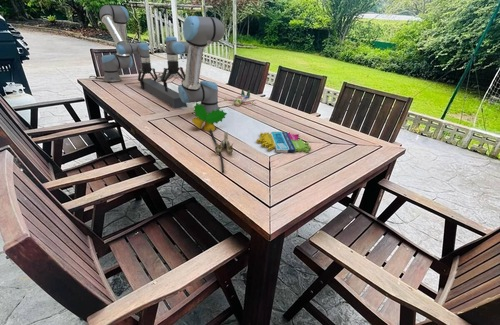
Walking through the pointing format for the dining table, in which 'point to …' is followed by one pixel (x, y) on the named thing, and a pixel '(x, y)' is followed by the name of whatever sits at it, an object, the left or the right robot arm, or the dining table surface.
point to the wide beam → (163, 93)
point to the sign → (283, 142)
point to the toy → (241, 99)
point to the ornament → (207, 117)
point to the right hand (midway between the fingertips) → (175, 90)
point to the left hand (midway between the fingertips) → (149, 88)
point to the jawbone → (224, 145)
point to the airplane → (165, 75)
